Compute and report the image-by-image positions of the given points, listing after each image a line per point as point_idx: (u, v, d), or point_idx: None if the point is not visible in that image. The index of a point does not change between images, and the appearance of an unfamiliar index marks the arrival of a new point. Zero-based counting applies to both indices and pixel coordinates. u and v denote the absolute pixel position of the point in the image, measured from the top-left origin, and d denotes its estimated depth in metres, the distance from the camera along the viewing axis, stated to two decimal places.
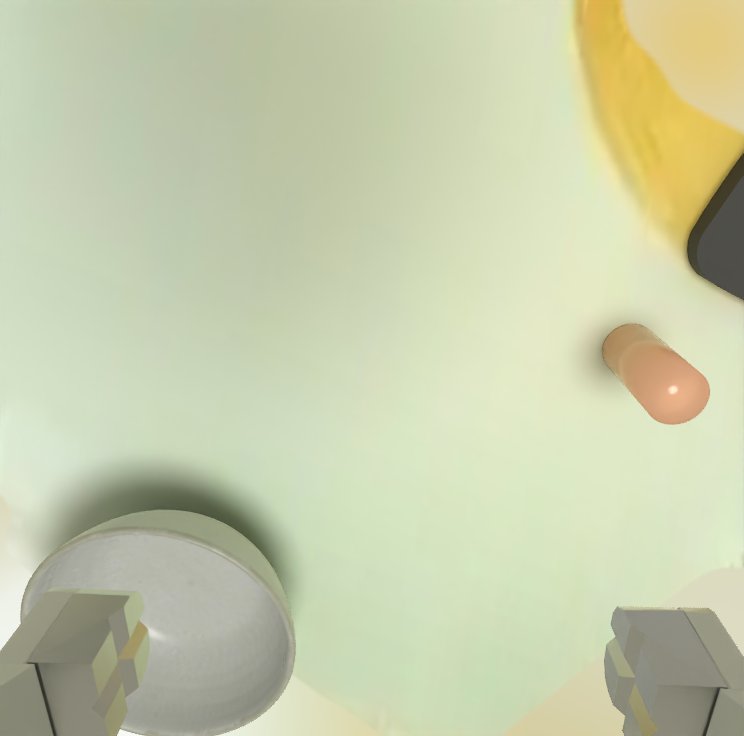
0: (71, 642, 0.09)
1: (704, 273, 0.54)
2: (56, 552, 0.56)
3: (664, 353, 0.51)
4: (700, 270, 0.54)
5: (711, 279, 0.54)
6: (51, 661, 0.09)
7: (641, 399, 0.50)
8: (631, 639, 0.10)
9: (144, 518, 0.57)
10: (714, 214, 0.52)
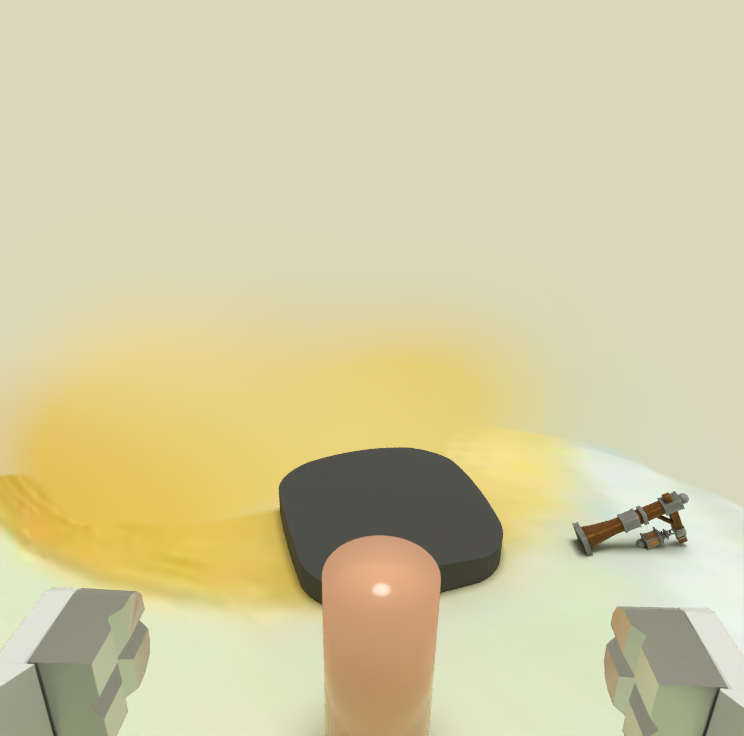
0: (71, 642, 0.09)
1: None
2: None
3: None
4: None
5: None
6: (51, 661, 0.09)
7: (348, 627, 0.24)
8: (631, 639, 0.10)
9: None
10: (293, 544, 0.41)
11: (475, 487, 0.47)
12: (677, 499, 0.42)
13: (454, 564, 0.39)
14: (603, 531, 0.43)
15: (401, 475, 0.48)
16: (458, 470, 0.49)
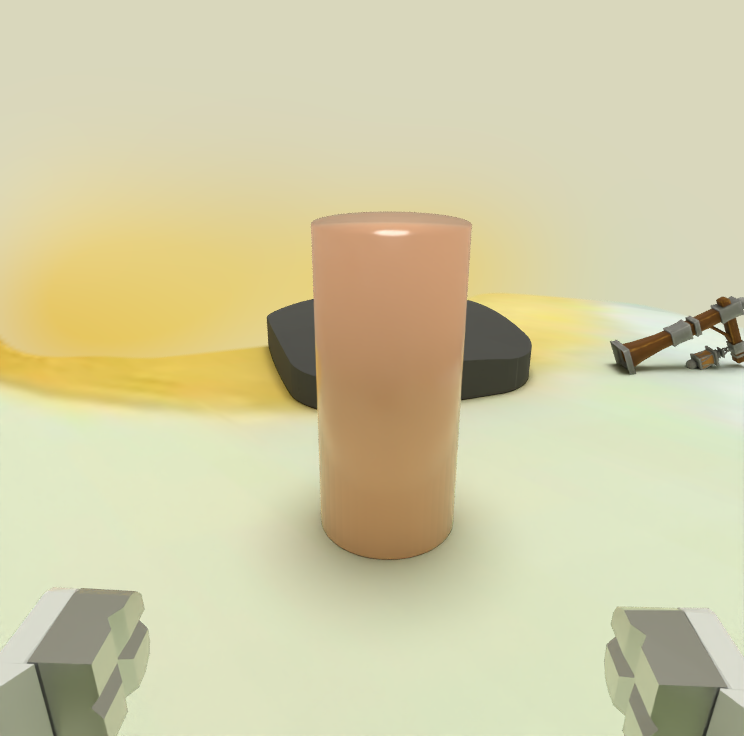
0: (71, 642, 0.09)
1: None
2: None
3: None
4: None
5: None
6: (51, 661, 0.09)
7: (347, 262, 0.18)
8: (631, 639, 0.10)
9: None
10: (282, 352, 0.34)
11: (495, 312, 0.40)
12: (735, 302, 0.36)
13: (475, 361, 0.32)
14: (648, 345, 0.36)
15: None
16: (474, 303, 0.42)
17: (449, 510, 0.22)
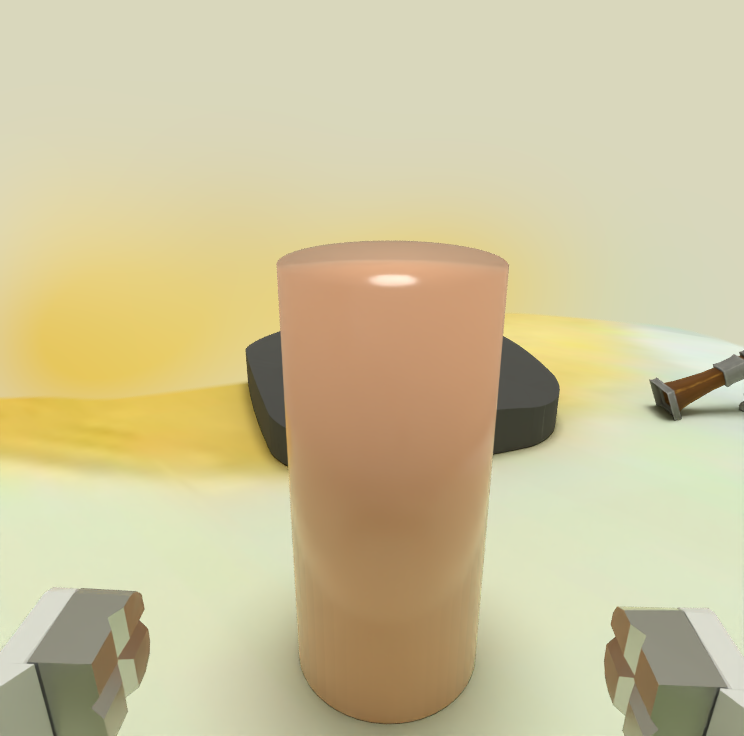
0: (71, 642, 0.09)
1: None
2: None
3: None
4: None
5: None
6: (51, 661, 0.09)
7: (327, 326, 0.12)
8: (631, 639, 0.10)
9: None
10: (260, 397, 0.28)
11: (513, 344, 0.34)
12: None
13: None
14: (696, 385, 0.31)
15: None
16: None
17: (472, 648, 0.16)
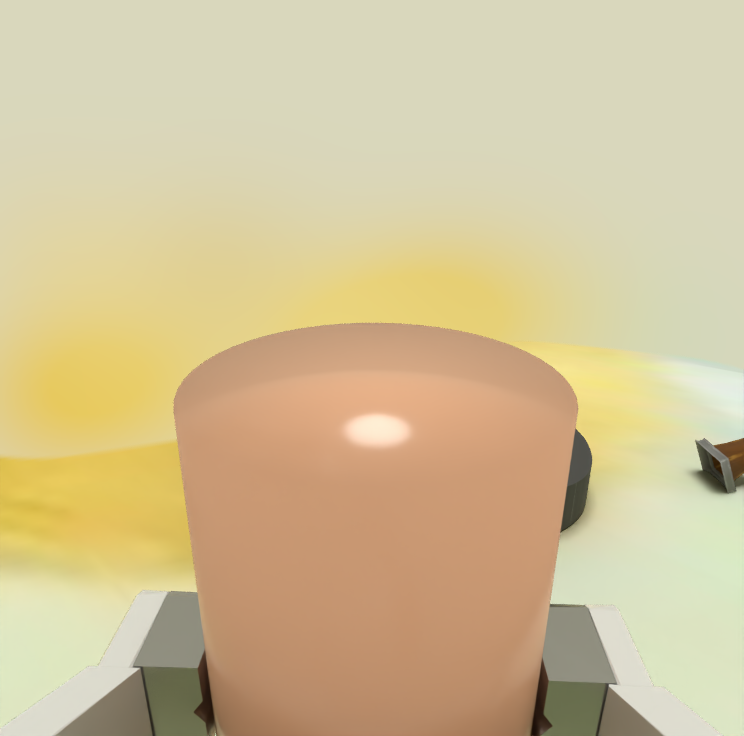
0: (173, 645, 0.09)
1: None
2: None
3: None
4: None
5: None
6: (156, 665, 0.09)
7: (248, 538, 0.06)
8: None
9: None
10: None
11: None
12: None
13: None
14: None
15: None
16: None
17: None
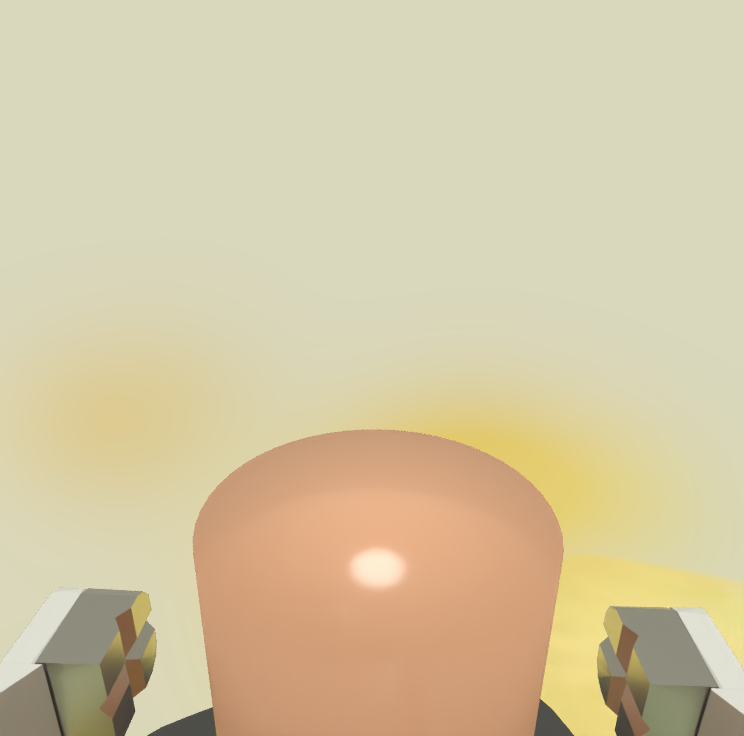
0: (79, 642, 0.09)
1: None
2: None
3: None
4: None
5: None
6: (60, 661, 0.09)
7: (264, 688, 0.07)
8: (623, 639, 0.10)
9: None
10: None
11: None
12: None
13: None
14: None
15: None
16: None
17: None
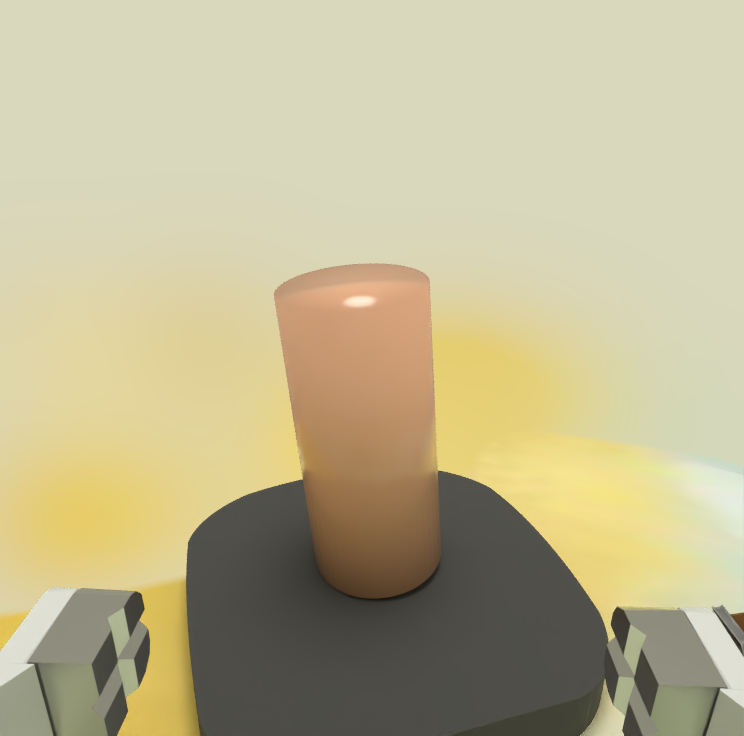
0: (71, 642, 0.09)
1: None
2: None
3: None
4: None
5: None
6: (51, 661, 0.09)
7: (301, 335, 0.18)
8: (631, 639, 0.10)
9: None
10: (192, 667, 0.20)
11: (540, 538, 0.26)
12: None
13: (522, 716, 0.18)
14: None
15: None
16: (505, 506, 0.28)
17: (431, 550, 0.23)
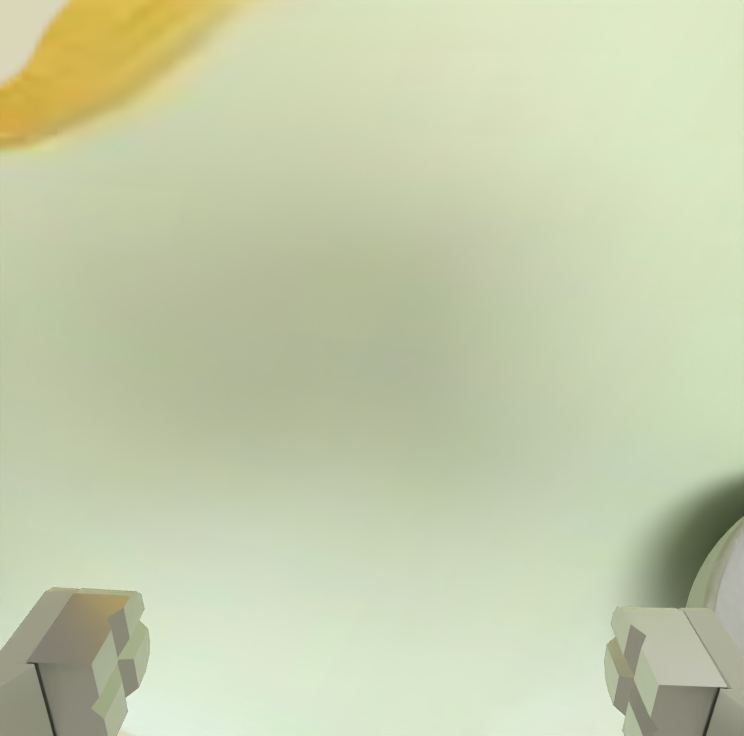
0: (71, 642, 0.09)
1: None
2: None
3: None
4: None
5: None
6: (51, 661, 0.09)
7: None
8: (631, 639, 0.10)
9: None
10: None
11: None
12: None
13: None
14: None
15: None
16: None
17: None
